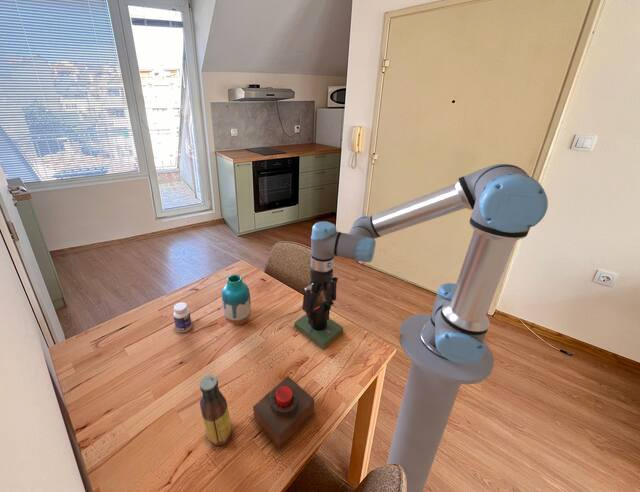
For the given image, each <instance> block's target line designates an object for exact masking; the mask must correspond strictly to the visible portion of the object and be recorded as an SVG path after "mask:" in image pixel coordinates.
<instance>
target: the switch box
mask: <svg viewBox="0 0 640 492" xmlns="http://www.w3.org/2000/svg"><path fill="white" fill-rule="evenodd" d="M281 386H287V387H289V388H290V389H291V391H292V403H291V404H290V405H289V406H287V407H281V406H279V405H278V404H277V403H276V390H277V389H278V388H279V387H281ZM252 410H253V421H254V422H255V423H256V424H257V426H258V427H260V429H261V430H262V431H263V432H264V433H265V434H266V436H267V437H268V438H269V439H270V440H271V441H272V443H274V446H276V447H277V449H278V450H281V448H283V446H284V445H285V444H286V443H288V441H289V440H290V439H291V438H292V437H293V436H294V435H295V433H297V431H298V430H299V429H300V428H301V427H302V426H303V425H304V424H305V422H307V420H309V419H310V417H311V416H312V415H313V414H314V411H315V399H314V398H313V397H312V396H311V395H310V394H309V393H308V392H307V391H305V389H303V388H302V386H300V385H299V384H298V383H297V382H295V380H293V379H292V378H291V377H290V376H289V375H287V376H285V378H283V379H282V381H280V382H279V383H278V384H277V385H276V386H275V387H273V388H272V389H271V390H270V391H269V392H268V393H266V394H265V395H264V396H263V397H262V398H261V399H260V400H259V401H257V402H256V403H255V404H254V405H253V406H252Z"/></svg>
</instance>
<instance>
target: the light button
mask: <svg viewBox="0 0 640 492" xmlns="http://www.w3.org/2000/svg"><path fill="white" fill-rule="evenodd" d="M276 403H277V404H278V405H279V406H281V407H287V406H289V405H290V404H291V403H292V391H291V389H290V388H289V387H287V386H281V387H279V388H278V389H277V390H276Z"/></svg>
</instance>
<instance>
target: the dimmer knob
mask: <svg viewBox="0 0 640 492" xmlns="http://www.w3.org/2000/svg"><path fill="white" fill-rule="evenodd" d="M314 311H315V326H314V327H312V326H311V327H312V328H313V329H314V330H317V331H322V330H324V329H325V328H326V327H327V316H328V306H327V305H326V304H325V303H323V302H322V301H317V302H316V305H315V308H314Z"/></svg>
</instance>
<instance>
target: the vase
mask: <svg viewBox="0 0 640 492" xmlns="http://www.w3.org/2000/svg"><path fill="white" fill-rule="evenodd" d="M251 301H252V299H251V292H250V288H249V286H248V284H247V283H245V282H244V281H243V277H242V276H241V275H240V274H230V275H229V276H227V278H226V284H225V285H224V286H223V288H222V290H221V304H222V311H223V315H224V318H225V320H226V321H227V322H228V323H229V324H232V325H241V324H244V323H245V322H247V321H248V319H249V318H250V316H251V311H252V303H251Z"/></svg>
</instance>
